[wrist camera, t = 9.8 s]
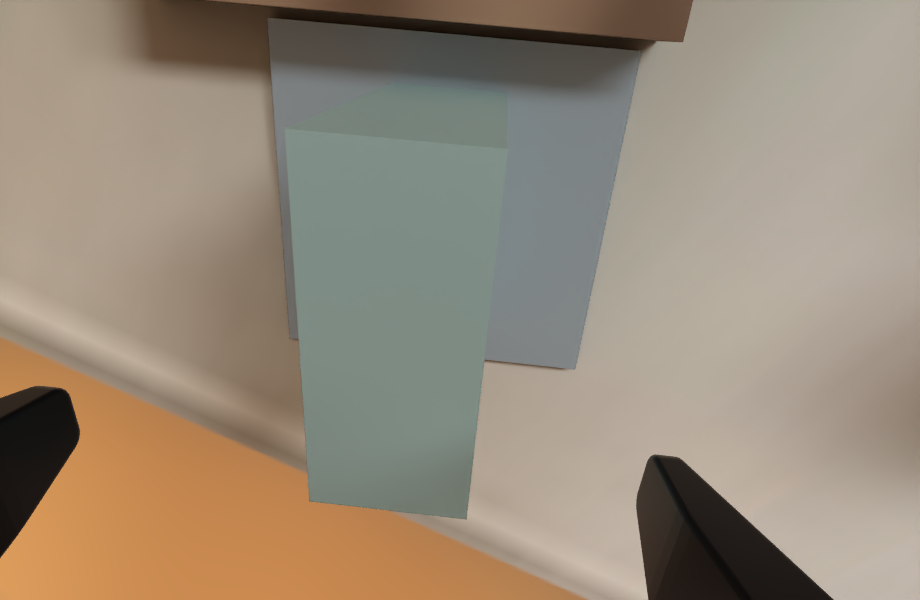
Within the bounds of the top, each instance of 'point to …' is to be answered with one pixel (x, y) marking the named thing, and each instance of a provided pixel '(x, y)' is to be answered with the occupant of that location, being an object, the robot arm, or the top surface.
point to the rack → (523, 14)
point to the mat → (528, 160)
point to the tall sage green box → (395, 290)
